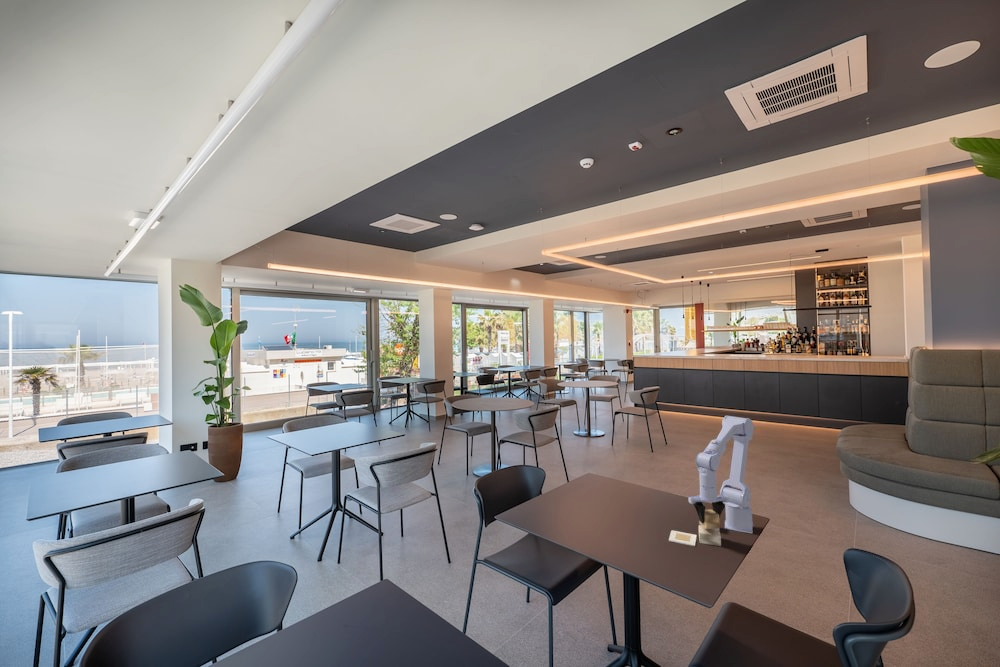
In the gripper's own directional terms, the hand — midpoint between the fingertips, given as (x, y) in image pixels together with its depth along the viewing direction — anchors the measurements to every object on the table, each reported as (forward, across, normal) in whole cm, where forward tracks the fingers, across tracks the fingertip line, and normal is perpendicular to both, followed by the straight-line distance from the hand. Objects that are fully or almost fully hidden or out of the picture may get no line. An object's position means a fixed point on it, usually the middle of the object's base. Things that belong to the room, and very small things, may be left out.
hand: (709, 521), depth 155 cm
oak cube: (+1, 0, 0) cm, 1 cm away
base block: (+7, 0, 0) cm, 7 cm away
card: (+7, +9, -2) cm, 12 cm away
